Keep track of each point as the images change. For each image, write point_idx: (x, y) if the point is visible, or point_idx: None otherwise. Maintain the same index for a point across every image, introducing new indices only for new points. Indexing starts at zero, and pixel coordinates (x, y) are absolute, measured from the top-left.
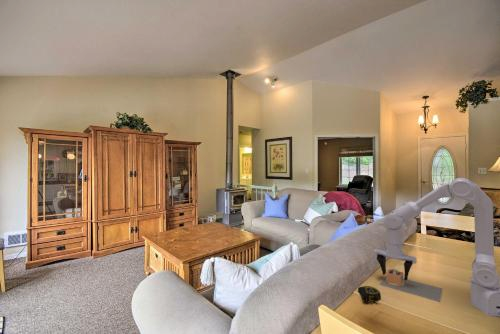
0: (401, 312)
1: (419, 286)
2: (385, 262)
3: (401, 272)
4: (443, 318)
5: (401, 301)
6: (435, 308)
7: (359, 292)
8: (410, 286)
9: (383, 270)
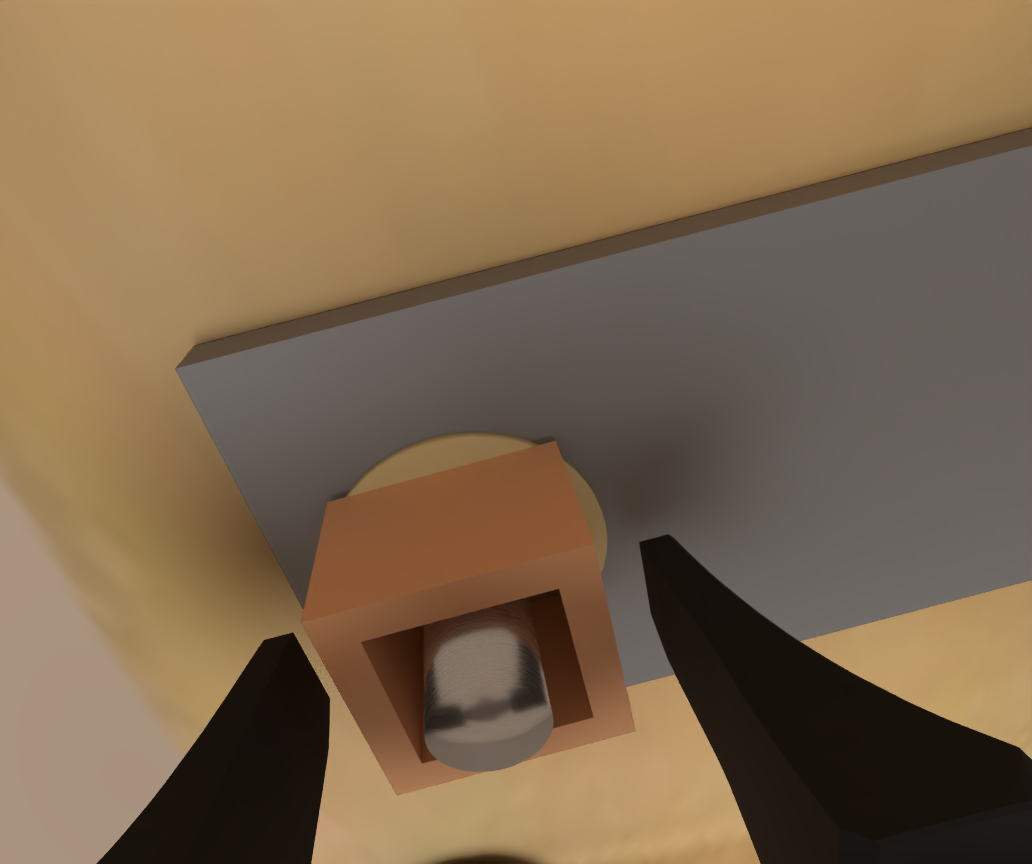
0: (730, 856)
1: (796, 387)
2: (208, 841)
3: (569, 576)
4: (1007, 709)
5: (679, 753)
6: (957, 630)
7: None
8: (690, 499)
9: (309, 796)
